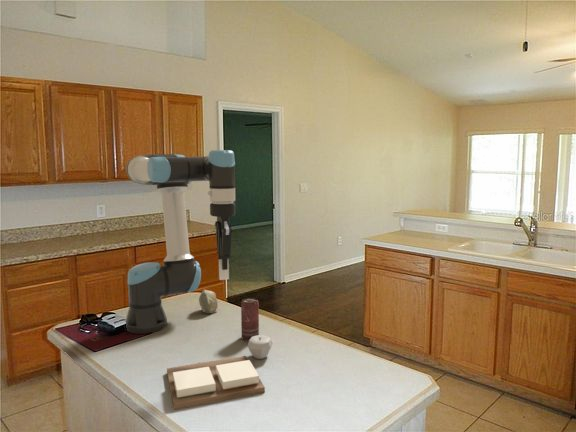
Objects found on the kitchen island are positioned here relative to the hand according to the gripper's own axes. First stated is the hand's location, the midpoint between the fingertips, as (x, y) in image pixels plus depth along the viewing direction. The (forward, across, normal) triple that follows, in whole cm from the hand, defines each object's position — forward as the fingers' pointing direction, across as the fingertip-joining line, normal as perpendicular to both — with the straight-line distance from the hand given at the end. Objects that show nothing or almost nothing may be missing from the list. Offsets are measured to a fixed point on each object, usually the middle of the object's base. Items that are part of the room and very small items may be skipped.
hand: (224, 279), depth 135 cm
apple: (+27, +1, +11) cm, 29 cm away
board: (+26, +12, -6) cm, 30 cm away
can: (+27, -14, +12) cm, 32 cm away
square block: (+24, +10, -12) cm, 28 cm away
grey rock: (+27, -46, +3) cm, 53 cm away
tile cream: (+24, +10, 0) cm, 26 cm away
